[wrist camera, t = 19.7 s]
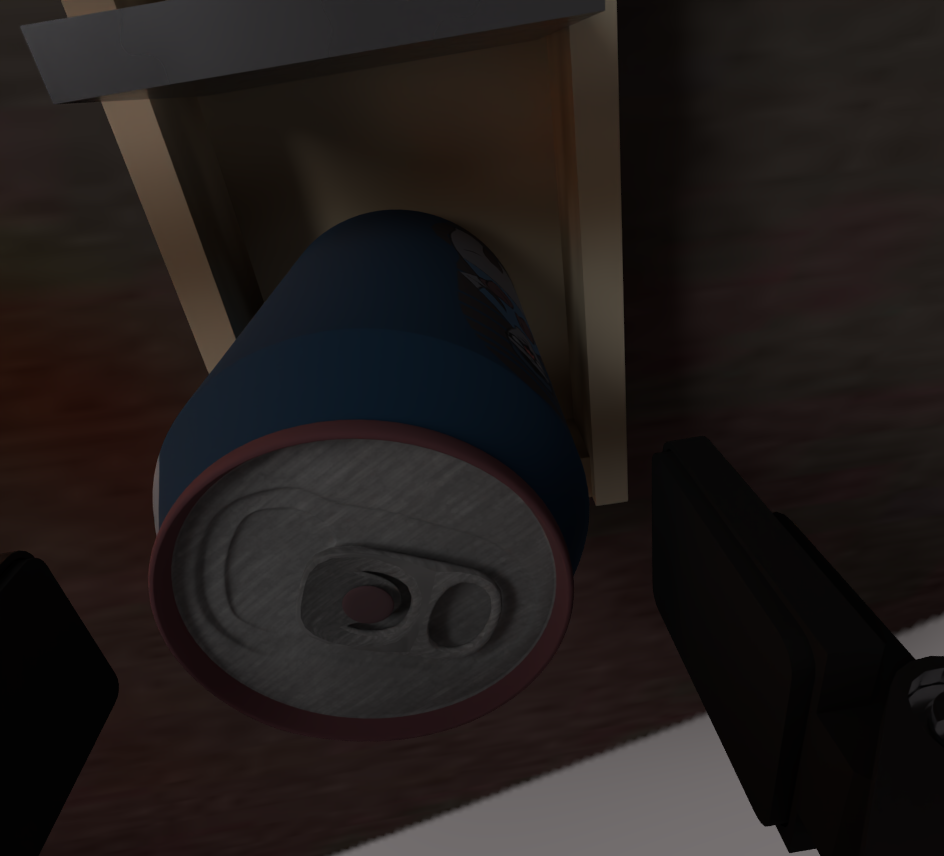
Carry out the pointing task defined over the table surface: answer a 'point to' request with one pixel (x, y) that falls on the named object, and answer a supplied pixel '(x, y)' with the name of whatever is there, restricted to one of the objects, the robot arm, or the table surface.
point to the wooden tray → (410, 194)
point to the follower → (270, 41)
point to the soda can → (372, 494)
